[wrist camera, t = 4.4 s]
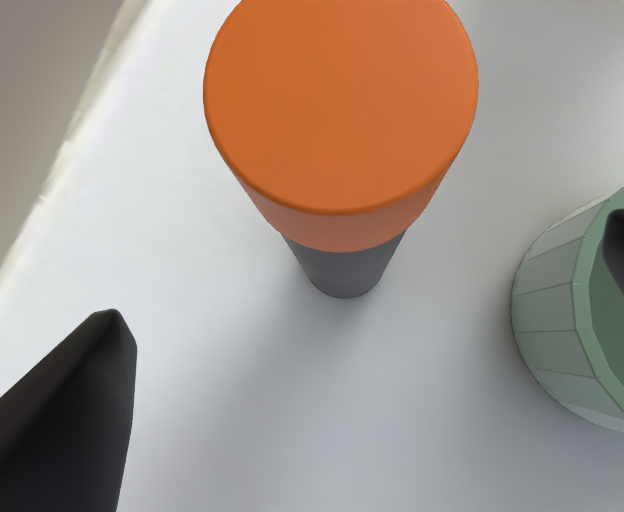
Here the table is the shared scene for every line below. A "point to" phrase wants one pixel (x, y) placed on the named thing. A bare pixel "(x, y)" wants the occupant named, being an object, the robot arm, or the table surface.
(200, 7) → the table surface
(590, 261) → the pen pot
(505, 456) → the table surface
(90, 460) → the robot arm
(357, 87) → the marker
